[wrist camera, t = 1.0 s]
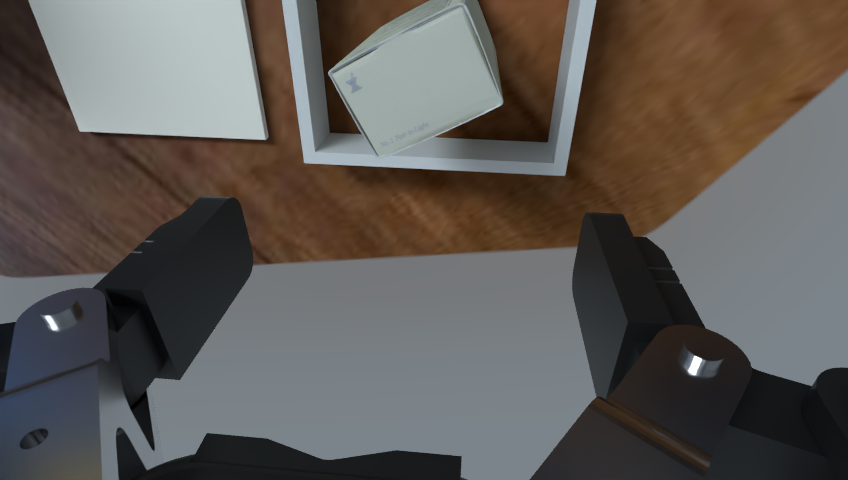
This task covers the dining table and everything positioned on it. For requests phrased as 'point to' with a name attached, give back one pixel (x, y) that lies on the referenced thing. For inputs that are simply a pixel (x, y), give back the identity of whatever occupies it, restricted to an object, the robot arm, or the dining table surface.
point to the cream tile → (156, 66)
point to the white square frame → (435, 150)
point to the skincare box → (420, 75)
